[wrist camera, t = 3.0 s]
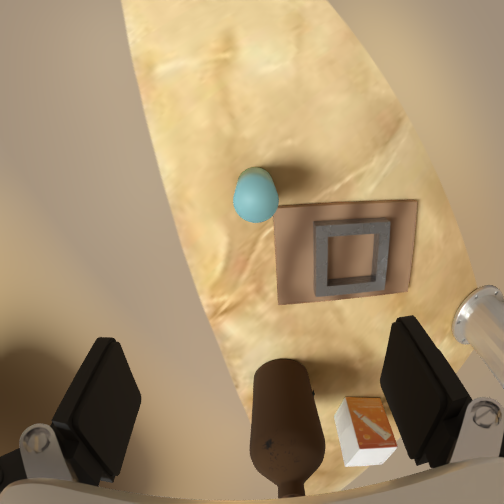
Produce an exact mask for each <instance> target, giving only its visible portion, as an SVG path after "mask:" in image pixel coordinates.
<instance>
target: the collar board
mask: <svg viewBox="0 0 504 504" xmlns="http://www.w3.org/2000/svg"><path fill="white" fill-rule="evenodd" d="M416 215H417V201H415V200H385V201H359V202H337V203H318V204H301V205H286V206H278V208H277V210H276V212H275V213H274V215H273V221H274V237H275V254H276V273H277V292H278V305H286V304H298V303H309V302H320V301H331V300H341V299H350V298H360V297H368V296H377V295H385V294H394V293H402V292H408V286H409V279H410V272H411V264H412V256H413V248H414V238H415V227H416Z"/></svg>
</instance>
